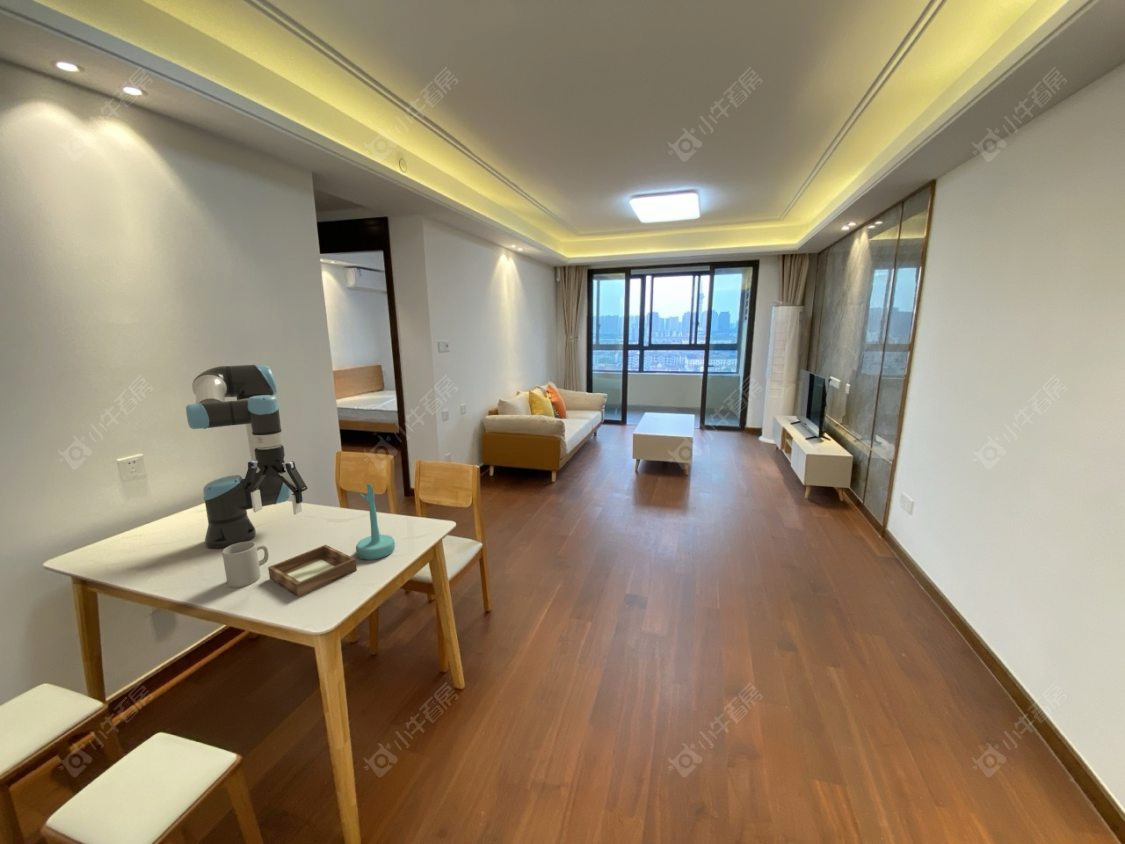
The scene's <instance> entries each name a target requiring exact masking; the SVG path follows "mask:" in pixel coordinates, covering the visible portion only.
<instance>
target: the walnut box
mask: <svg viewBox="0 0 1125 844" xmlns="http://www.w3.org/2000/svg"><path fill="white" fill-rule="evenodd" d="M267 569H268V570H267V571H268V577H269V580H271V581H272V582H273V583H276V584H278V585H279V586H280V587H282V588H283V589H285V590H286V591H288V592H290V593H292V594H293V595H294V596H296V597H297V598H301V597H303V596H304V595H306V594H307V595H308V594H310V593H312V592H314V591H315V590H318V589H320V588H322V587H324V586H326V585H329V584H331V583H333V582H335V581H338V580H339V579H342V578H343V577H346V576H348V575H350V574H352V573H355V572H356V571H357V559H356V558H355V557H352V556H351V555H348V554H346V553H344V552H341V550H340V551H339V550H338V549H335V548H334V547H331V546H330V545H327V544H324V545H321V546H319V547H316V548H314V549H311V550H308V551H306V552H304V553H300V554H298V555H296V556H293V557H290V558H289V559H285V560H283V561H281V562H278V563H275V564H272V565H271V566H268V567H267ZM357 572H358V571H357Z"/></svg>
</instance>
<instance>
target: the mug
mask: <svg viewBox="0 0 1125 844" xmlns="http://www.w3.org/2000/svg"><path fill="white" fill-rule="evenodd" d="M260 550H262V551H263V553H264V555H263V558H262V559H261V560H259V556H258V551H260ZM221 555H222V559H223V565H224V572H225V579H226V585H227V587H229V588H232V589H233V588H234V589H235V588H243V587H247V586H249V585H253V584H254V583H256V582H257V581H258V580H259V579H261V569H260V567H261V566H263V565H265V564H266V563H267V562H268V560H269V556H270V555H269V550H268V547H267V545H265V544H261V543H260V544H256V543H255V542H254V541H247V542H241V543H236V544H233V545H231V546H228V547H226V548H223V550H222V554H221Z"/></svg>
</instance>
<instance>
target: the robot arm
mask: <svg viewBox="0 0 1125 844" xmlns="http://www.w3.org/2000/svg"><path fill="white" fill-rule="evenodd" d="M274 377H275V376H274V374H273V372H272V369H271V368H270V367H269V366H268V365H266V364H246V365H245V364H244V365H242V364H241V365H226V366H225V365H221V366H216V367H212V368H210V369H206V370H205V371H203V372H201V373H200V374H198V375H197V376H196V377H195V378H194V380H193V381H192V384H191V389H192V392H193V394H194V396H195V403H191V404H187V405H186V407H185V412H186V419H187V424H188V427H189V428H190V429H192V430H198V429H202V430H206V429H213V428H222V427H229V426H239V425H240V426H241V425H245V428H246V434H247V440H248V449H249V454H250V461H248V462H247V471H246V474H245V476H244V478H243V477H242V476H241V475H240V474H235V475H228V476H224V477H221V478H217V479H214V480H212V481H209V482H208V483H207V484H206V485H204V487H203V498H202V499H203V500H204V505H205V510H206V517H207V523H208V524H207V529H206V534H205V539H204V543H205V546H206V548H209V549H215V550H216V549H225V548H226V547H228V546H231V545H233V544H236V543H241V542H250V541H251V540H252V539H254V538H255V536H257V531H256V528H255V526H254V524H253V523H252V521H251V519H250V518H249V516H248V512H247V511H248V510H252V511H253V513H257V512H259V511H262V510H263V507H268V506H272V505H277V504H282V503H285V502H288V500H290V498H291V503H292V504H291V505H292V510H293V511H292V513H293V515H297V514H299V513H301V512H302V511H303V509H302V508H303V507H302V503H303V492H305V491H307V490H308V486H307V485H306V483H305V481H304V479H303V477H302V476H301V474H300V473H299V471H298V469H297V467H296V463H295V461H293V460H291V461H288V462H285V459H284V458H285V455H286V454H285V447H284V445H283V444H284V440H283V439H284V438H283V431H282V427H281V417H280V410H279V409H280V406H279V403H278V398H277V396H275V395H277V394H278V389H277V386H276V385H277V384H276V380H275V378H274ZM226 398H236V400H230V401H226ZM291 492H292V494H291ZM290 494H291V495H290ZM290 496H291V497H290Z"/></svg>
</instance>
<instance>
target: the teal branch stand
mask: <svg viewBox="0 0 1125 844" xmlns="http://www.w3.org/2000/svg"><path fill="white" fill-rule="evenodd" d="M366 487H367V489H366V490H367V491H366V492H367V493H366V495H364V494H362V493H360V494H359V496H361V497H362V498H363V500H365V501H366V502H368V505H369V506H368V507H369V520H370V521H369V523H370V535H369V536H366V537H365V538H362V539H360V540H359V541H357V543H356V546H355V552H356V555H357V557H358V558H360V559H362V560H366V561H371V560H372V561H373V560H379V559H383V558H385V557H387V556H389V555H391V554H392V553H393V552H394V550H395V547H396V546H395V545H396V542H395V539H394V538H393V536H391V535H389V534H384V533H383V534H380V529H379V526H378V515H377V510H376V505H375V493H374V487H373V486H372V484H370V483H366Z"/></svg>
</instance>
